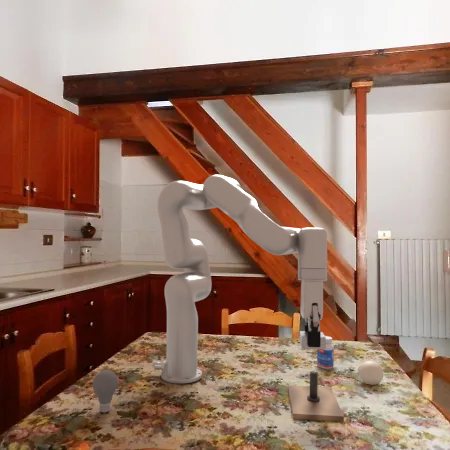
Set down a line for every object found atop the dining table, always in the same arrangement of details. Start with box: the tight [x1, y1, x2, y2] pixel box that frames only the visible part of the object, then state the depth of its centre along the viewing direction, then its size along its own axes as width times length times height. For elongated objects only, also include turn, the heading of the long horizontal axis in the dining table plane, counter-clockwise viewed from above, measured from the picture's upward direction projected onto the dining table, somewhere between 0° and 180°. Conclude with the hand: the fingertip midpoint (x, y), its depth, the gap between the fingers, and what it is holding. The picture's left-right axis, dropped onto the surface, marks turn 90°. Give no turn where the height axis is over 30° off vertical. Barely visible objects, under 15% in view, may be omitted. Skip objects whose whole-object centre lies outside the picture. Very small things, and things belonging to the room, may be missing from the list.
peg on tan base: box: [287, 370, 345, 422], centre depth 106 cm, size 12×18×8 cm, turn 175°
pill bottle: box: [316, 335, 335, 370], centre depth 136 cm, size 6×5×10 cm
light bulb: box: [92, 369, 119, 413], centre depth 99 cm, size 6×6×10 cm
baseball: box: [357, 360, 384, 386], centre depth 121 cm, size 7×7×7 cm
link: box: [299, 330, 326, 350], centre depth 106 cm, size 6×6×3 cm
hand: (312, 342), depth 106 cm, fingers closed on link, 6 cm apart
